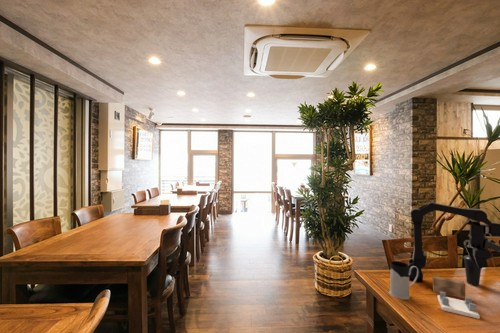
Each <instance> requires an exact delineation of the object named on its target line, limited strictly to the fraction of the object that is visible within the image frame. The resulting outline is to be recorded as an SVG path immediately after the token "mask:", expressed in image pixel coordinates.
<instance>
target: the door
mask: <svg viewBox="0 0 500 333" xmlns="http://www.w3.org/2000/svg"><path fill="white" fill-rule="evenodd" d="M432 290H433V292H434V293H437V292H438V294H440V292H445V293H446V296H451V295H452V297H457V298H460V299H461V298H462V299H465V297H466V283H465V282H464V281H462V280H457V279H453V278H446V277H441V276H436V275H432Z"/></svg>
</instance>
